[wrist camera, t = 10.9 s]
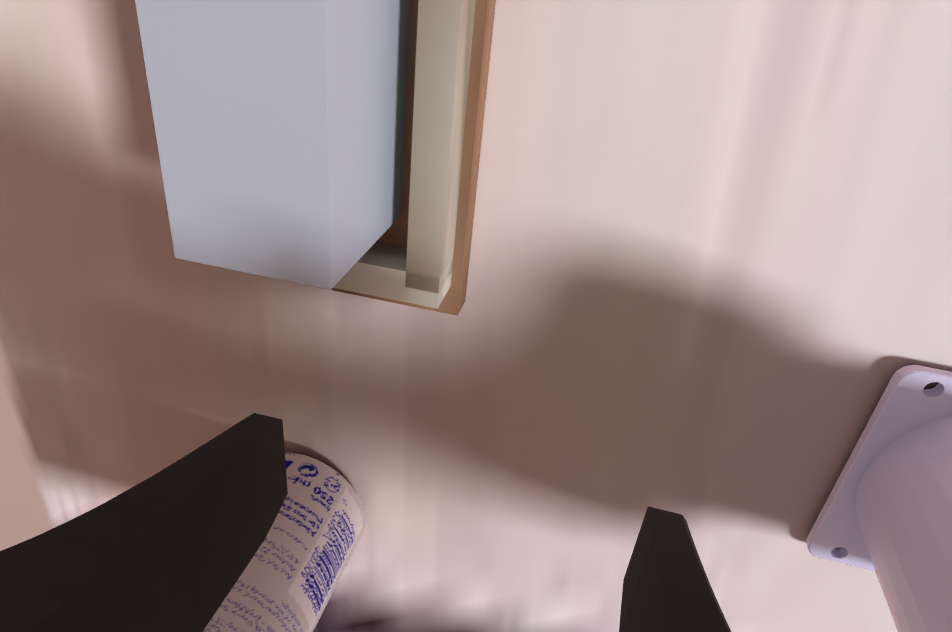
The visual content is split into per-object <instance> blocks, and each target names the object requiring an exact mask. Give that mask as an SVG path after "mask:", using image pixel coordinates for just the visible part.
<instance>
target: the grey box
mask: <svg viewBox="0 0 952 632" xmlns="http://www.w3.org/2000/svg"><path fill="white" fill-rule="evenodd" d="M135 4H136V10H137V17H138V23H139V29H140V36H141V42H142V49H143V55H144V62H145V68H146V75H147V81H148V88H149V94H150V100H151V107H152V113H153V120H154V126H155V133H156V139H157V146H158V152H159V158H160V165H161V171H162V178H163V184H164V191H165V197H166V204H167V210H168V216H169V223H170V229H171V236H172V242H173V249H174V255H175V258H177V259H182V260H187V261H192V262H197V263H202V264H207V265H211V266H216V267H221V268H226V269H231V270H236V271H241V272H245V273H250V274H255V275H260V276H265V277H270V278H275V279H279V280H284V281H289V282H294V283H299V284H304V285H309V286H313V287H318V288H323V289H328V290H331V289H332V288H333V287H334V286H335V285H336V284H337V283H338V282H339V281H340V279H341V278H342V277H343V276H344V275H345V274H346V273H347V272H348V271H349V270H350V269H351V268H352V267H353V266H354V265H355V264H356V262H357V261H358V260H359V259H360V258H361V257H362V256H363V255H364V254H365V253H366V252H367V251H368V250H369V249H370V248H371V247H372V245H373V244H374V243H375V242H376V241H377V240H378V239H379V238H380V237H381V236H382V235H383V234H384V233H385V232H386V231H387V229H388V228H389V227H390V226H391V225H392V224H393V223H394V222H395V221H396V220H397V219H398V218H399V217H400V216H401V195H402V172H403V148H404V124H405V101H406V77H407V53H408V30H409V6H410V0H135Z"/></svg>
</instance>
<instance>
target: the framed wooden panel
mask: <svg viewBox="0 0 952 632" xmlns="http://www.w3.org/2000/svg"><path fill="white" fill-rule="evenodd" d="M494 10H495V0H410V6H409V30H408V53H407V77H406V101H405V124H404V148H403V172H402V195H401V216H400V217H399V218H398V219H397V220H396V221H395V222H394V223H393V224H392V225H391V226H390V227H389V228H388V229H387V231H386V232H385V233H384V234H383V235H382V236H381V237H380V238H379V239H378V240H377V241H376V242H375V243H374V244H373V245H372V247H371V248H370V249H369V250H368V251H367V252H366V253H365V254H364V255H363V256H362V257H361V258H360V259H359V260H358V261H357V262H356V264H355V265H354V266H353V267H352V268H351V269H350V270H349V271H348V272H347V273H346V274H345V275H344V276H343V277H342V278H341V279H340V281H339V282H338V283H337V284H336V285H335V286H334V287H333V288H332V289H331V290H334V291H339V292H344V293H349V294H354V295H359V296H364V297H369V298H374V299H378V300H383V301H388V302H393V303H398V304H403V305H408V306H413V307H418V308H423V309H428V310H433V311H437V312H442V313H447V314H452V315H458V314H459V312H460V310H461V308H462V306H463V304H464V302H465V296H466V286H467V276H468V267H469V257H470V247H471V237H472V227H473V217H474V207H475V198H476V188H477V178H478V168H479V158H480V148H481V138H482V129H483V119H484V109H485V99H486V89H487V79H488V69H489V60H490V50H491V40H492V30H493V20H494Z"/></svg>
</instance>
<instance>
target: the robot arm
mask: <svg viewBox="0 0 952 632" xmlns="http://www.w3.org/2000/svg"><path fill="white" fill-rule="evenodd" d="M932 382H939V384H938V385H937V386H936V387H934V388H932V389H924V387H925V386H926V385H927V384H929V383H932ZM287 494H288V490H287V476H286V463H285V449H284V435H283V422H282V420H281V419H277V418H273V417H269V416H265V415H260V414H256V413H254V414H252V415H250V416H249V417H247V418H245V419H244V420H242V421H240V422H239V423H237V424H236V425H234V426H233V427H231V428H229V429H228V430H226V431H225V432H223V433H221V434H220V435H218V436H217V437H215V438H214V439H212V440H210V441H209V442H207V443H206V444H204V445H202V446H201V447H199V448H198V449H196V450H195V451H193V452H191V453H190V454H188V455H187V456H185V457H183V458H182V459H180V460H178V461H177V462H175V463H173V464H172V465H170V466H169V467H167V468H165V469H164V470H162V471H160V472H159V473H157V474H155V475H154V476H152V477H150V478H148V479H147V480H145V481H143V482H141V483H139V484H138V485H136V486H134V487H132V488H130V489H129V490H127V491H125V492H123V493H122V494H120V495H118V496H116V497H114V498H113V499H111V500H109V501H107V502H105V503H104V504H102V505H100V506H98V507H96V508H94V509H92V510H90V511H88V512H86V513H84V514H82V515H80V516H78V517H76V518H74V519H72V520H70V521H68V522H66V523H64V524H62V525H60V526H57V527H55V528H53V529H51V530H49V531H47V532H45V533H43V534H40V535H38V536H36V537H34V538H32V539H29V540H27V541H24V542H22V543H19V544H17V545H15V546H12V547H10V548H7V549H5V550H2V551H0V632H203V630H204V629H205V628H206V626H207V625H208V623H209V622H210V620H211V619H212V617H213V616H214V614H215V613H216V611H217V610H218V608H219V607H220V605H221V604H222V602H223V601H224V600H225V598H226V597H227V595H228V594H229V592H230V591H231V589H232V588H233V586H234V585H235V583H236V582H237V580H238V579H239V577H240V576H241V574H242V573H243V571H244V570H245V568H246V567H247V565H248V564H249V562H250V561H251V559H252V558H253V556H254V555H255V553H256V552H257V550H258V549H259V547H260V546H261V544H262V543H263V541H264V540H265V538H266V536H267V534H268V532H269V530H270V528H271V526H272V524H273V523H274V521H275V519H276V517H277V515H278V513H279V511H280V509H281V507H282V504H283V502H284V500H285V498H286V496H287ZM806 543H807V547H808V550H809V552H810V553H811V554H812V555H813V556H816V557H818V558H822V559H826V560H830V561H835V562H839V563H843V564H847V565H851V566H855V567H860V568H864V569H868V570H872V571H876V574H877V576H878V579H879V582H880V584H881V587H882V590H883V592H884V595H885V598H886V600H887V603H888V606H889V609H890V611H891V614H892V617H893V619H894V622H895V625H896V627H897V630H898V632H952V372H951V371H946V370H940V369H935V368H930V367H925V366H920V365H909V366H905V367H902V368H900V369H899V370H897V371H896V372H895V373H894V375H893V376H892V378H891V380H890V382H889V383H888V385H887V387H886V389H885V391H884V393H883V395H882V397H881V399H880V400H879V402H878V404H877V406H876V408H875V410H874V412H873V414H872V416H871V417H870V419H869V421H868V423H867V425H866V427H865V429H864V431H863V433H862V435H861V436H860V438H859V440H858V442H857V444H856V446H855V448H854V450H853V452H852V453H851V455H850V457H849V459H848V461H847V463H846V465H845V467H844V469H843V470H842V472H841V474H840V476H839V478H838V480H837V482H836V484H835V486H834V487H833V489H832V491H831V493H830V495H829V497H828V499H827V501H826V503H825V505H824V506H823V508H822V510H821V512H820V514H819V516H818V518H817V520H816V522H815V523H814V525H813V527H812V529H811V531H810V533H809V535H808V537H807V540H806ZM837 547H842V548H841V549H834V548H837ZM619 632H731V630H730V628H729V626H728V624H727V621H726V619H725V617H724V615H723V613H722V611H721V608H720V606H719V604H718V602H717V600H716V597H715V595H714V593H713V590H712V588H711V585H710V583H709V581H708V578H707V576H706V573H705V571H704V568H703V566H702V563H701V561H700V558H699V555H698V553H697V550H696V547H695V545H694V542H693V539H692V536H691V533H690V531H689V528H688V524H687V521H686V520H685V518H684V517H683V515H681V514H677V513H673V512H669V511H664V510H660V509H656V508H652V507H648V508H647V511H646V514H645V517H644V520H643V523H642V526H641V529H640V532H639V535H638V538H637V541H636V544H635V547H634V550H633V553H632V556H631V559H630V562H629V565H628V568H627V571H626V574H625V577H624V582H623V593H622V604H621V616H620V628H619Z"/></svg>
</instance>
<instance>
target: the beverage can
mask: <svg viewBox="0 0 952 632" xmlns="http://www.w3.org/2000/svg"><path fill="white" fill-rule="evenodd" d="M285 463H286V476H287V490H288V494H287V496H286V498H285V500H284V502H283V504H282V507H281V509H280V511H279V513H278V515H277V517H276V519H275V521H274V523H273V524H272V526H271V528H270V530H269V532H268V534H267V536H266V538H265V540H264V541H263V543H262V544H261V546H260V547H259V549H258V550H257V552H256V553H255V555H254V556H253V558H252V559H251V561H250V562H249V564H248V565H247V567H246V568H245V570H244V571H243V573H242V574H241V576H240V577H239V579H238V580H237V582H236V583H235V585H234V586H233V588H232V589H231V591H230V592H229V594H228V595H227V597H226V598H225V600H224V601H223V602H222V604H221V605H220V607H219V608H218V610H217V611H216V613H215V614H214V616H213V617H212V619H211V620H210V622H209V623H208V625H207V626H206V628H205V629H204V630H203V632H314V630H315V628H316V626H317V624H318V622H319V620H320V618H321V616H322V614H323V612H324V610H325V608H326V606H327V604H328V601H329V599H330V597H331V595H332V593H333V591H334V589H335V587H336V585H337V583H338V581H339V579H340V577H341V575H342V573H343V571H344V569H345V567H346V565H347V563H348V561H349V559H350V557H351V555H352V553H353V551H354V548H355V546H356V544H357V542H358V540H359V538H360V536H361V534H362V532H363V530H364V526H365V513H364V509H363V506H362V503H361V501H360V499H359V497H358V495H357V493H356V492H355V490H354V489H353V487H352V486H351V485H350V484H349V483H348V482H347V480H346V479H345V478H344V477H343V476H341V475H340V474H339V473H338V472H337V471H336V470H334V469H333V468H331V467H330V466H328V465H326V464H324V463H323V462H321V461H319V460H317V459H314V458H311V457H309V456H306V455H302V454H296V453H285Z"/></svg>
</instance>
